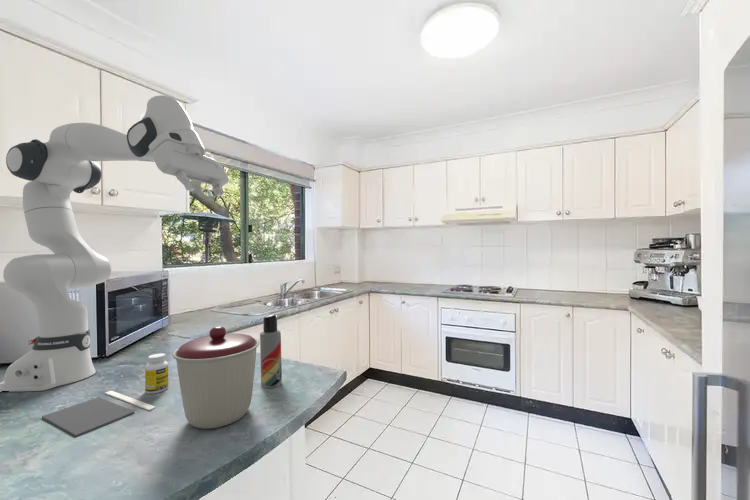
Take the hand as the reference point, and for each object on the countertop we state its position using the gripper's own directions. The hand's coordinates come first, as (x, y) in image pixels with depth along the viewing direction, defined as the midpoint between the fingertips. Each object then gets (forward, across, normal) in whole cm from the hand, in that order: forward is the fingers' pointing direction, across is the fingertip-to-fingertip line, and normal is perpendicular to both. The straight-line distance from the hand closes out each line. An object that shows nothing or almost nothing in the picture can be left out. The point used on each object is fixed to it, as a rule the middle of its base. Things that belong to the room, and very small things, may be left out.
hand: (206, 192), depth 85 cm
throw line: (+38, +6, -44) cm, 58 cm away
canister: (+52, +8, -18) cm, 56 cm away
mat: (+37, +15, -45) cm, 60 cm away
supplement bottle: (+39, 0, -43) cm, 58 cm away
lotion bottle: (+53, -11, -17) cm, 57 cm away
